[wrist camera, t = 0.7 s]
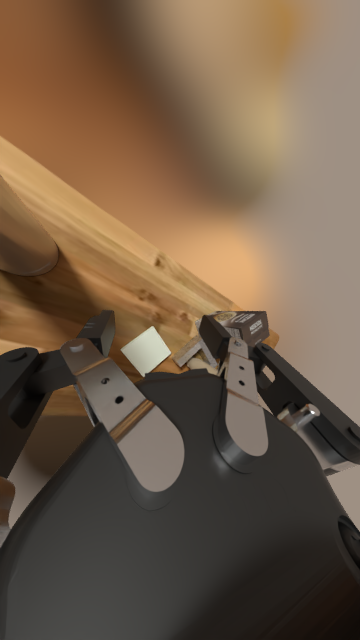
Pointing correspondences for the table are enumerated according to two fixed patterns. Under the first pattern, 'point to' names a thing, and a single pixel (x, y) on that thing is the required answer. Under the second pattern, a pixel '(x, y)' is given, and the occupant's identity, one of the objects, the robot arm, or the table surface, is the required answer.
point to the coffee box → (243, 325)
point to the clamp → (191, 349)
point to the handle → (200, 365)
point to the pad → (146, 351)
